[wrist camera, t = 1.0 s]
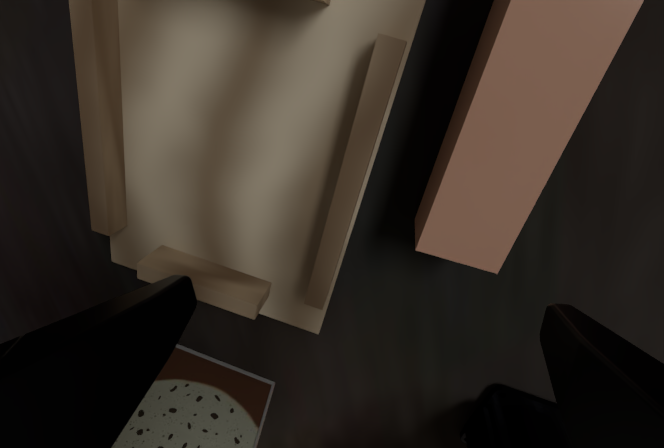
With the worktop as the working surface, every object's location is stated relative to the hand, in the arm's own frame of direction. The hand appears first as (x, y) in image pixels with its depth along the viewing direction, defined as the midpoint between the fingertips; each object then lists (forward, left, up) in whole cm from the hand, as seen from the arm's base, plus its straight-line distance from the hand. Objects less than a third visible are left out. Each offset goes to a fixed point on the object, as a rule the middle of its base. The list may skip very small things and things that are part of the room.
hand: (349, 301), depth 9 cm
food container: (+8, +23, -12) cm, 27 cm away
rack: (+9, +1, -12) cm, 15 cm away
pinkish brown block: (-4, -5, -12) cm, 14 cm away
